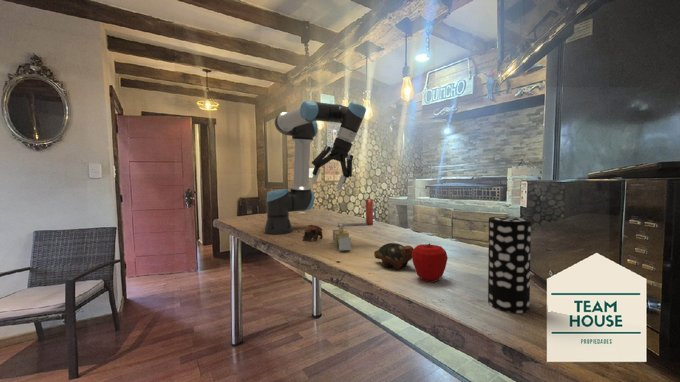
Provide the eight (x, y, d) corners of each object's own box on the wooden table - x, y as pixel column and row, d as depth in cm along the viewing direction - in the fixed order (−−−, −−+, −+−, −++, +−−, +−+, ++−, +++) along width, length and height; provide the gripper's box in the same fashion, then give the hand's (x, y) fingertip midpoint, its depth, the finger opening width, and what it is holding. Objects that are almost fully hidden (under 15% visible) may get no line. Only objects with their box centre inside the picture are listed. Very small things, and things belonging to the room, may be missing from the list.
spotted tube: (514, 296, 72) (515, 216, 71) (538, 312, 63) (540, 221, 62) (481, 297, 71) (481, 216, 70) (501, 314, 63) (502, 222, 62)
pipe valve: (332, 242, 134) (331, 224, 133) (344, 241, 135) (343, 223, 134) (338, 253, 115) (337, 232, 115) (352, 252, 116) (351, 231, 115)
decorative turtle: (410, 274, 89) (408, 248, 89) (368, 269, 98) (365, 245, 98) (422, 264, 97) (420, 241, 96) (382, 260, 106) (380, 238, 106)
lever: (338, 227, 123) (338, 200, 122) (337, 226, 126) (337, 200, 125) (373, 225, 125) (373, 199, 124) (372, 224, 128) (371, 199, 127)
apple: (450, 277, 86) (450, 240, 86) (443, 288, 78) (443, 248, 77) (416, 272, 91) (416, 237, 91) (407, 281, 83) (407, 244, 82)
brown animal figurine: (298, 240, 141) (303, 224, 144) (314, 247, 145) (319, 231, 148) (308, 238, 131) (313, 221, 134) (326, 245, 135) (330, 228, 138)
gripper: (325, 131, 111) (305, 182, 115) (370, 150, 127) (352, 195, 130) (316, 128, 117) (297, 176, 121) (361, 146, 132) (343, 189, 136)
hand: (325, 186), depth 125 cm, fingers open, 13 cm apart
